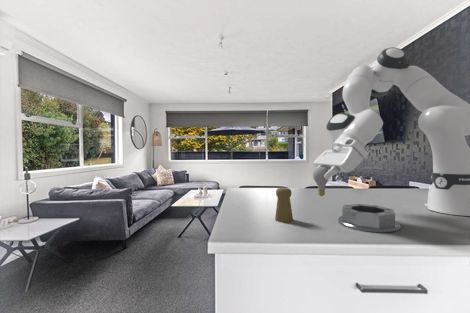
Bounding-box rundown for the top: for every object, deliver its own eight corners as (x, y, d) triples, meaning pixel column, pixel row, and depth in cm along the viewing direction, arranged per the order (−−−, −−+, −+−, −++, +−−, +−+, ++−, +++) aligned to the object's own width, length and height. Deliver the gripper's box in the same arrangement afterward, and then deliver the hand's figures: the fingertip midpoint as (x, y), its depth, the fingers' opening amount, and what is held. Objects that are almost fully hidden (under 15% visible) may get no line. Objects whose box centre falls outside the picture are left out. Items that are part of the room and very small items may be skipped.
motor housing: (367, 214, 84) (367, 201, 84) (414, 229, 68) (414, 213, 68) (327, 218, 80) (327, 205, 80) (367, 235, 63) (367, 218, 63)
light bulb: (331, 197, 76) (331, 167, 76) (314, 197, 77) (313, 167, 77) (328, 194, 82) (327, 166, 82) (312, 194, 83) (311, 166, 83)
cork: (293, 222, 76) (293, 189, 76) (275, 222, 77) (274, 189, 76) (292, 217, 82) (291, 186, 81) (274, 217, 83) (274, 186, 82)
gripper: (324, 143, 90) (301, 169, 89) (358, 140, 70) (328, 173, 69) (335, 154, 91) (312, 180, 90) (372, 154, 71) (342, 187, 70)
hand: (319, 177), depth 79 cm, fingers closed on light bulb, 5 cm apart
